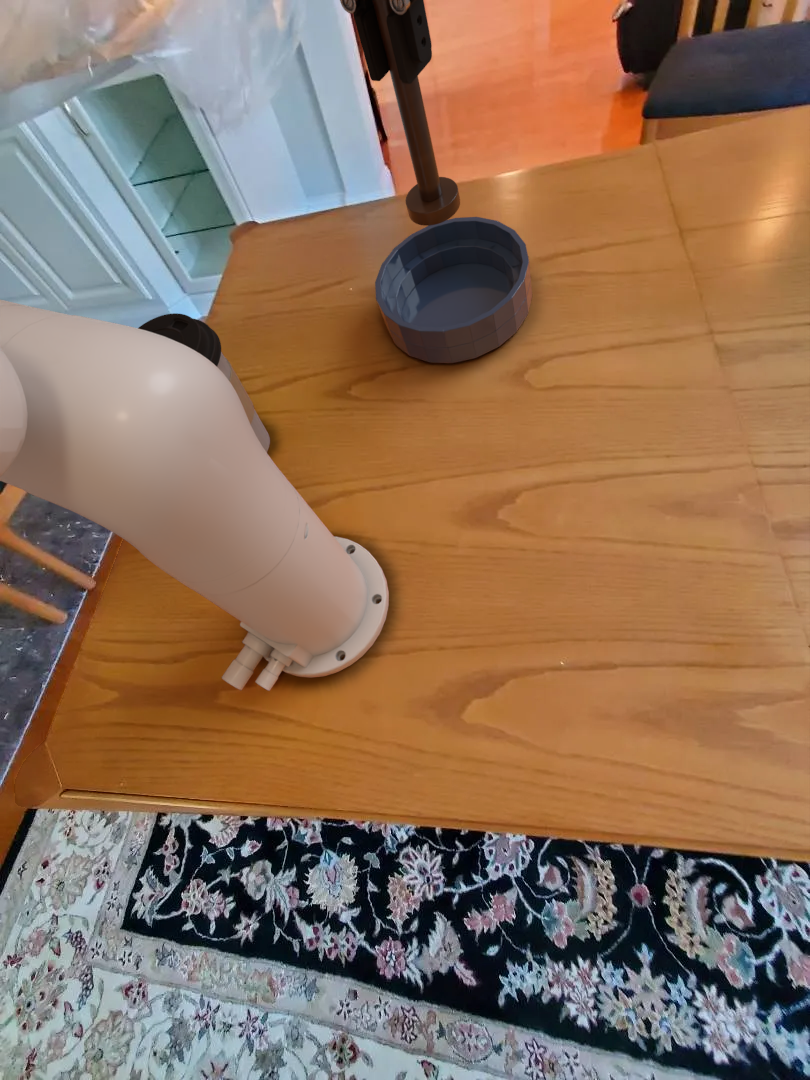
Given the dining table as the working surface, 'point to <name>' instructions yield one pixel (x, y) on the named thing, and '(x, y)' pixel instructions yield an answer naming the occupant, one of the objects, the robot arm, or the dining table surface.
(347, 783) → the dining table surface
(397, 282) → the bowl
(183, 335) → the coffee cup
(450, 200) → the muddler
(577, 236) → the dining table surface
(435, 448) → the dining table surface
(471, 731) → the dining table surface
